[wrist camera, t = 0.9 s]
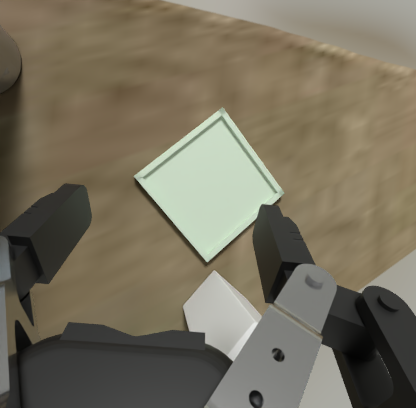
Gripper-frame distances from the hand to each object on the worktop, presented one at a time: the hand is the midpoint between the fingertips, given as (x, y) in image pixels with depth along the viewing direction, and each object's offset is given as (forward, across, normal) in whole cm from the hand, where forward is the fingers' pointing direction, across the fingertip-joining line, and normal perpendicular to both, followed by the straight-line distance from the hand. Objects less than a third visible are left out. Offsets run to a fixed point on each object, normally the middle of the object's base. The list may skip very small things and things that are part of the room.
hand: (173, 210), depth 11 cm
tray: (+22, -3, +10) cm, 25 cm away
